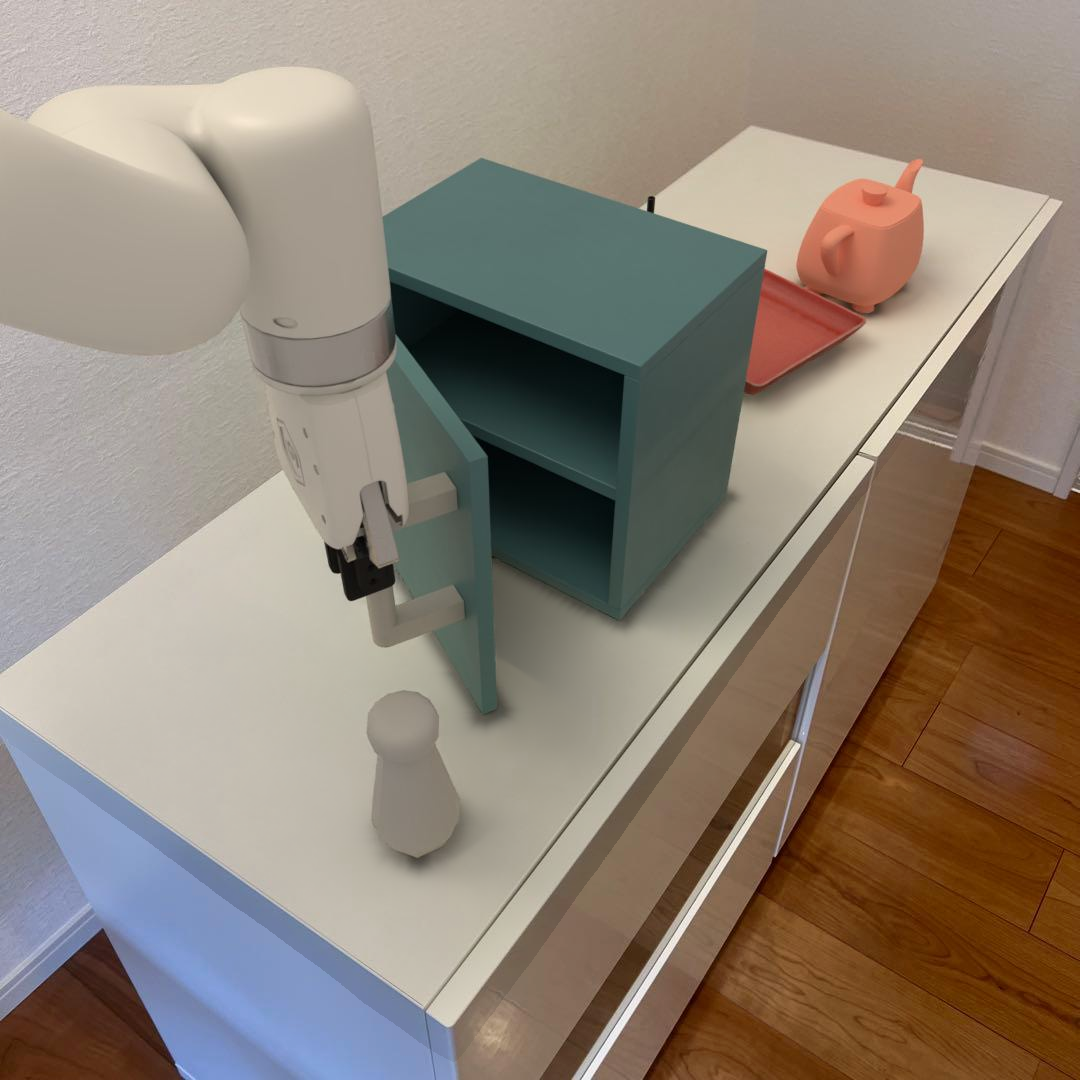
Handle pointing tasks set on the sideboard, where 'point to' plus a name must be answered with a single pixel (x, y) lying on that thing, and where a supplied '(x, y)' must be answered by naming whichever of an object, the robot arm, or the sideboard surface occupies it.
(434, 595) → the fridge door
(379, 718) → the salt shaker
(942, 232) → the sideboard surface
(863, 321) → the plant saucer
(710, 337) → the box
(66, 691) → the sideboard surface
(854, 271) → the teapot
